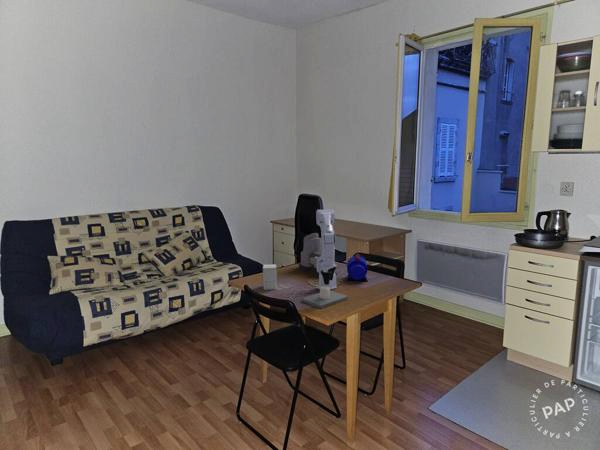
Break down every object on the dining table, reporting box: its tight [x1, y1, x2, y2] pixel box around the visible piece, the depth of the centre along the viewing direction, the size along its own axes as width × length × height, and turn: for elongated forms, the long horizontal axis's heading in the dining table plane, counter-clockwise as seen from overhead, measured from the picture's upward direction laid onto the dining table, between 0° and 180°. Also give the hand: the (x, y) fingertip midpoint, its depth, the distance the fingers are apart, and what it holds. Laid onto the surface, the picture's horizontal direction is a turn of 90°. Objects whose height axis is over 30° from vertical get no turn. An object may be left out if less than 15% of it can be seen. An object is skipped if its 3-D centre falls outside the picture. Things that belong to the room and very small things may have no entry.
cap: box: [319, 286, 330, 299], centre depth 213 cm, size 5×5×5 cm
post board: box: [300, 289, 349, 309], centre depth 213 cm, size 20×14×5 cm
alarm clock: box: [346, 253, 369, 282], centre depth 248 cm, size 12×12×15 cm
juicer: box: [296, 232, 338, 277], centre depth 266 cm, size 30×16×24 cm, turn 33°
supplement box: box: [262, 264, 278, 291], centre depth 233 cm, size 7×7×13 cm
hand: (328, 282), depth 213 cm, fingers open, 7 cm apart
